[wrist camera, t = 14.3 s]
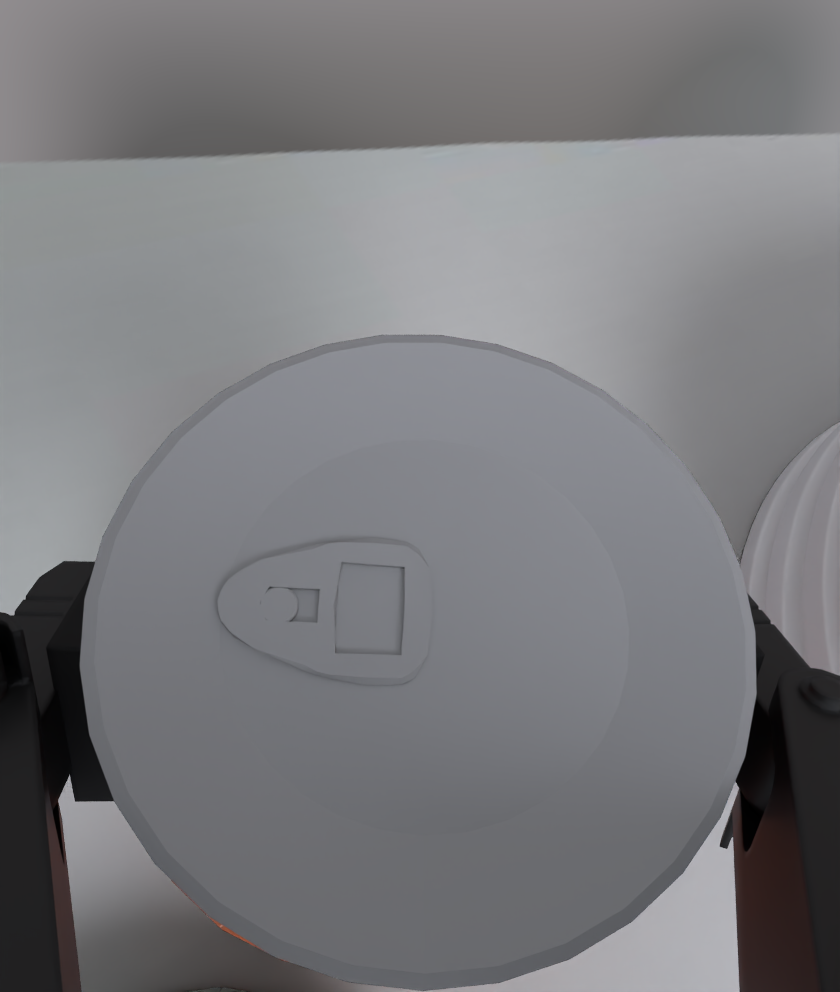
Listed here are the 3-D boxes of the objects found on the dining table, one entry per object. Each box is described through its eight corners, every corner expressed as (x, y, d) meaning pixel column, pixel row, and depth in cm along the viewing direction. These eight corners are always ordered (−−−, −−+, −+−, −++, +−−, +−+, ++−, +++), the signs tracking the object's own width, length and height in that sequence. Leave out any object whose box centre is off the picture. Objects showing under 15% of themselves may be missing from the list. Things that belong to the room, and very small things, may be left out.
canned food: (202, 577, 19) (40, 379, 9) (491, 516, 21) (643, 284, 10) (251, 893, 17) (113, 1121, 7) (572, 802, 18) (870, 876, 8)
